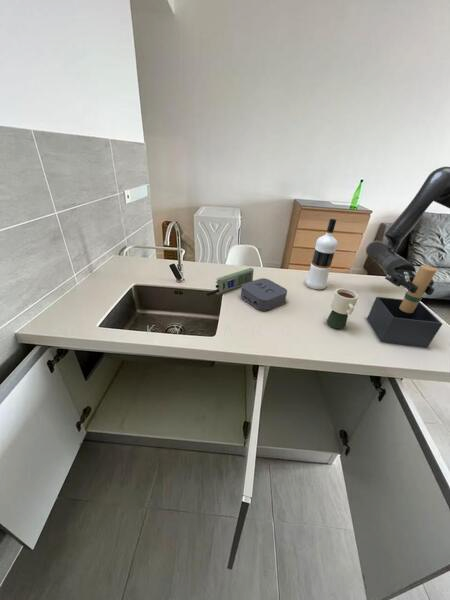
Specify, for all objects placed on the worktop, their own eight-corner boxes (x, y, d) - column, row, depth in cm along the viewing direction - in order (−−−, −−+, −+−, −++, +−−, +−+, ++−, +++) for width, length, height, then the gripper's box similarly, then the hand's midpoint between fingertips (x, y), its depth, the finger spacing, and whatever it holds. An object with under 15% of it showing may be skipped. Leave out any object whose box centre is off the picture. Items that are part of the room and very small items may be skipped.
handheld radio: (253, 282, 111) (209, 298, 97) (248, 280, 113) (205, 295, 99) (254, 269, 108) (209, 283, 94) (249, 267, 110) (204, 281, 96)
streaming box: (288, 302, 98) (290, 291, 95) (262, 313, 90) (263, 301, 88) (263, 287, 108) (264, 277, 105) (237, 296, 100) (238, 285, 97)
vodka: (300, 281, 114) (316, 216, 99) (317, 280, 117) (335, 215, 101) (312, 291, 107) (331, 222, 91) (330, 289, 109) (351, 221, 94)
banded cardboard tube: (409, 306, 81) (432, 265, 73) (416, 314, 78) (440, 271, 70) (396, 305, 82) (417, 264, 74) (402, 312, 78) (424, 269, 70)
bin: (407, 323, 89) (419, 301, 84) (427, 347, 78) (442, 323, 73) (366, 318, 91) (376, 296, 86) (381, 341, 79) (393, 318, 74)
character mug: (352, 334, 82) (366, 302, 75) (332, 334, 81) (344, 302, 75) (338, 316, 91) (348, 285, 84) (319, 316, 91) (329, 285, 84)
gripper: (380, 256, 86) (403, 277, 71) (423, 260, 85) (455, 283, 70) (372, 275, 90) (393, 299, 75) (413, 279, 88) (442, 304, 74)
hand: (423, 291), depth 73 cm, fingers closed on banded cardboard tube, 4 cm apart
